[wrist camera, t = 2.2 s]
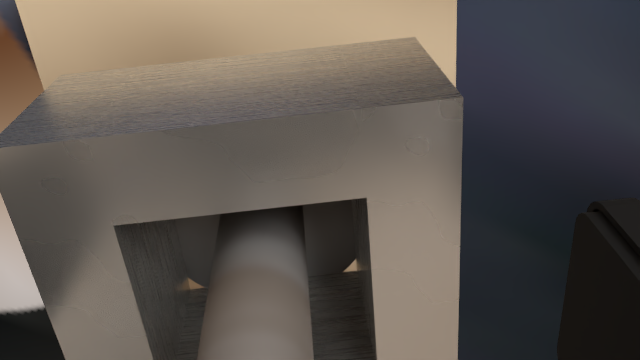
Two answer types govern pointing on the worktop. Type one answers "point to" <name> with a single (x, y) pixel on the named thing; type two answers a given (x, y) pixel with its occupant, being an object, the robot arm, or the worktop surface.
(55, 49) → the stand
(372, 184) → the square hollow frame
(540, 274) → the worktop surface
